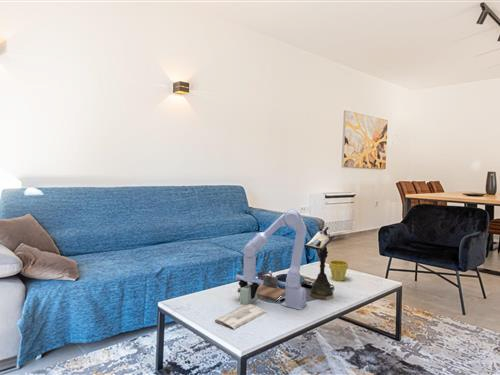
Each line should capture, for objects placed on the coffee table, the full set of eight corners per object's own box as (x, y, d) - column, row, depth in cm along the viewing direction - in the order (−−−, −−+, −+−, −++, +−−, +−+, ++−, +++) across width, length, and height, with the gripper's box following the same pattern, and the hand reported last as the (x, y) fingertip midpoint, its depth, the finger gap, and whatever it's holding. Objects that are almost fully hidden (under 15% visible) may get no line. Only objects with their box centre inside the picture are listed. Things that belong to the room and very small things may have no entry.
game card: (258, 272, 192) (271, 270, 197) (253, 273, 197) (266, 271, 201) (260, 285, 191) (273, 282, 196) (255, 285, 195) (268, 283, 200)
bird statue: (316, 305, 167) (319, 230, 164) (297, 296, 178) (299, 226, 175) (340, 298, 176) (343, 227, 174) (321, 289, 187) (324, 223, 184)
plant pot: (325, 277, 208) (325, 260, 207) (341, 275, 211) (341, 259, 210) (334, 282, 198) (335, 265, 198) (350, 281, 201) (351, 264, 201)
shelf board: (288, 293, 182) (288, 279, 181) (276, 301, 171) (276, 286, 170) (251, 284, 193) (251, 271, 193) (237, 291, 182) (238, 278, 182)
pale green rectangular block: (257, 298, 173) (257, 284, 173) (247, 305, 166) (247, 290, 165) (250, 297, 175) (250, 283, 175) (240, 303, 168) (240, 288, 167)
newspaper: (245, 306, 166) (245, 301, 165) (266, 316, 158) (266, 311, 158) (210, 322, 148) (210, 316, 148) (231, 334, 141) (232, 328, 140)
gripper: (267, 269, 169) (266, 297, 170) (241, 264, 176) (240, 291, 177) (259, 273, 163) (258, 302, 164) (233, 267, 170) (232, 295, 171)
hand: (248, 297), depth 170 cm, fingers closed on pale green rectangular block, 4 cm apart
